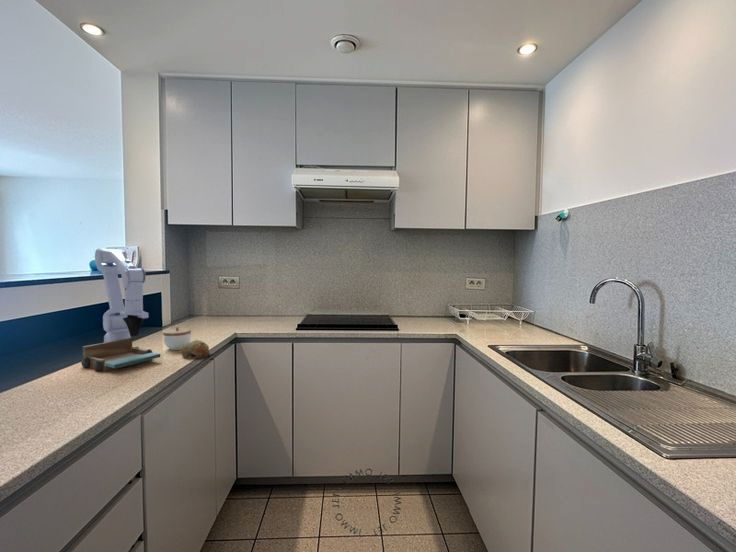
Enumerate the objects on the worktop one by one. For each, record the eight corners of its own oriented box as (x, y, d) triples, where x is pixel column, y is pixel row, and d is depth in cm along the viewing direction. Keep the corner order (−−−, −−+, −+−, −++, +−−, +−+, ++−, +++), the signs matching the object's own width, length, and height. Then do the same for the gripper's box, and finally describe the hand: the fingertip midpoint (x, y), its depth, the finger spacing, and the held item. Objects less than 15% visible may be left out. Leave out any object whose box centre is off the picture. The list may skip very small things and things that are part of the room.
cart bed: (79, 366, 121) (79, 347, 121) (132, 354, 137) (132, 337, 137) (101, 372, 115) (101, 352, 115) (154, 359, 131) (154, 341, 131)
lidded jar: (192, 344, 155) (192, 324, 155) (189, 350, 145) (189, 328, 145) (165, 346, 152) (165, 325, 151) (160, 352, 141) (160, 330, 141)
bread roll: (180, 367, 134) (177, 351, 130) (185, 350, 142) (183, 335, 139) (207, 365, 136) (205, 350, 133) (211, 349, 145) (210, 334, 141)
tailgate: (106, 362, 116) (114, 364, 114) (151, 352, 130) (160, 353, 128) (106, 366, 116) (114, 368, 114) (151, 355, 130) (160, 357, 128)
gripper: (111, 299, 129) (111, 335, 129) (134, 302, 123) (134, 339, 123) (130, 298, 135) (131, 332, 136) (153, 300, 129) (154, 336, 130)
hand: (134, 335), depth 130 cm, fingers closed
